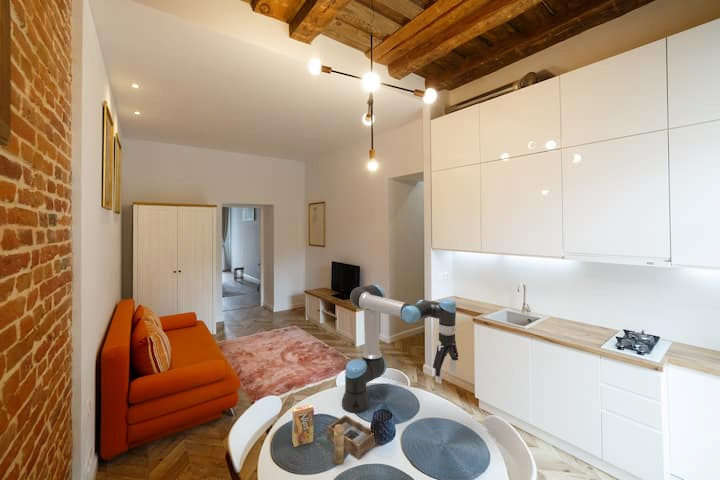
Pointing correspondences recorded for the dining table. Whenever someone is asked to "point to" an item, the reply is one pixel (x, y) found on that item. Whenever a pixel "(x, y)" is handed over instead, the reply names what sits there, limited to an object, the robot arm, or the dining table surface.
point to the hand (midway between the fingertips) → (445, 377)
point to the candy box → (302, 425)
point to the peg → (338, 444)
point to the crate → (358, 431)
